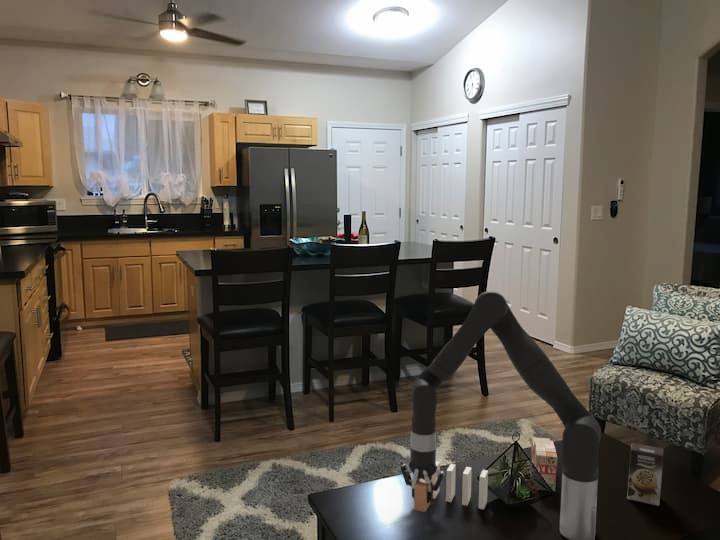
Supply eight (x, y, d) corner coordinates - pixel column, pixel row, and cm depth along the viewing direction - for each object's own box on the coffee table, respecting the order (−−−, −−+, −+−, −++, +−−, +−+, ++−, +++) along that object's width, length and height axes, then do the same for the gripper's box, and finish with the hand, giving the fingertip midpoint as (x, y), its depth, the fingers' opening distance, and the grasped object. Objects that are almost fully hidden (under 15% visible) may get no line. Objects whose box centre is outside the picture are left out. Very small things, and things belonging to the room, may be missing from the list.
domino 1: (430, 504, 176) (430, 479, 176) (425, 512, 172) (425, 486, 171) (419, 501, 178) (419, 476, 177) (414, 509, 173) (414, 484, 172)
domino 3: (454, 495, 182) (455, 464, 181) (450, 502, 178) (451, 471, 176) (449, 494, 183) (450, 463, 181) (445, 501, 178) (446, 470, 177)
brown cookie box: (626, 499, 180) (629, 449, 178) (628, 490, 186) (631, 441, 184) (659, 506, 176) (663, 455, 174) (660, 497, 181) (663, 447, 179)
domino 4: (470, 498, 180) (471, 467, 179) (467, 506, 176) (468, 474, 174) (465, 497, 181) (466, 466, 180) (461, 504, 176) (462, 473, 175)
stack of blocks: (530, 462, 206) (532, 428, 204) (549, 463, 204) (550, 430, 203) (535, 491, 185) (536, 454, 183) (555, 493, 184) (557, 456, 182)
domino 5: (487, 501, 178) (488, 470, 177) (483, 509, 174) (484, 477, 172) (481, 500, 179) (482, 469, 178) (478, 508, 174) (479, 476, 173)
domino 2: (439, 491, 184) (440, 461, 183) (435, 499, 179) (435, 468, 178) (434, 490, 185) (435, 460, 183) (430, 498, 180) (430, 467, 179)
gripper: (449, 444, 173) (448, 499, 175) (404, 436, 179) (403, 490, 181) (443, 454, 166) (441, 511, 168) (396, 446, 172) (395, 501, 174)
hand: (422, 500), depth 175 cm, fingers closed on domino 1, 3 cm apart
